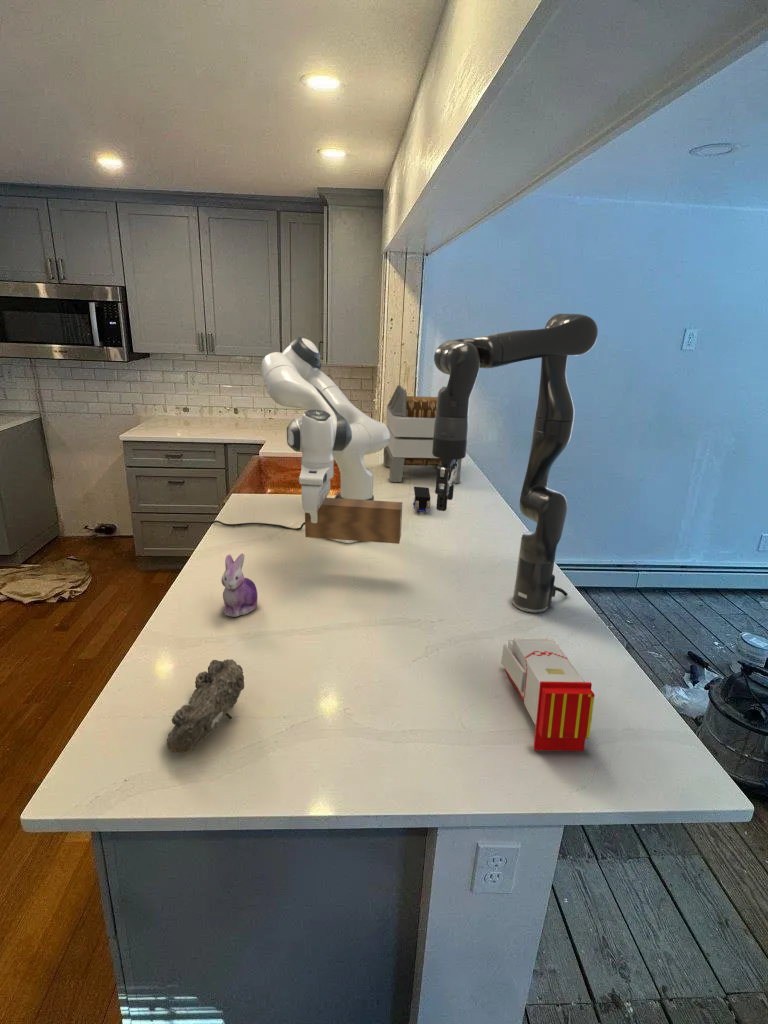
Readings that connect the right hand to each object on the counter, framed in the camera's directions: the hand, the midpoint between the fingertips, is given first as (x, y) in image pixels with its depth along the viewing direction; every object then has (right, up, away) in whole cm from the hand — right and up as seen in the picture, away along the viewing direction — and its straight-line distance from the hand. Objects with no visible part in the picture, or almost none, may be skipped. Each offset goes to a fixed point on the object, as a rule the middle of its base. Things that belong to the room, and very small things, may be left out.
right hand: (444, 504), depth 131 cm
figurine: (-51, -27, +16) cm, 60 cm away
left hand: (-33, -3, +30) cm, 44 cm away
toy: (+17, -41, -15) cm, 47 cm away
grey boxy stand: (+3, +17, +144) cm, 145 cm away
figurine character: (+1, -1, +94) cm, 94 cm away
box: (-23, -9, +30) cm, 39 cm away
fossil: (-47, -41, -23) cm, 66 cm away
